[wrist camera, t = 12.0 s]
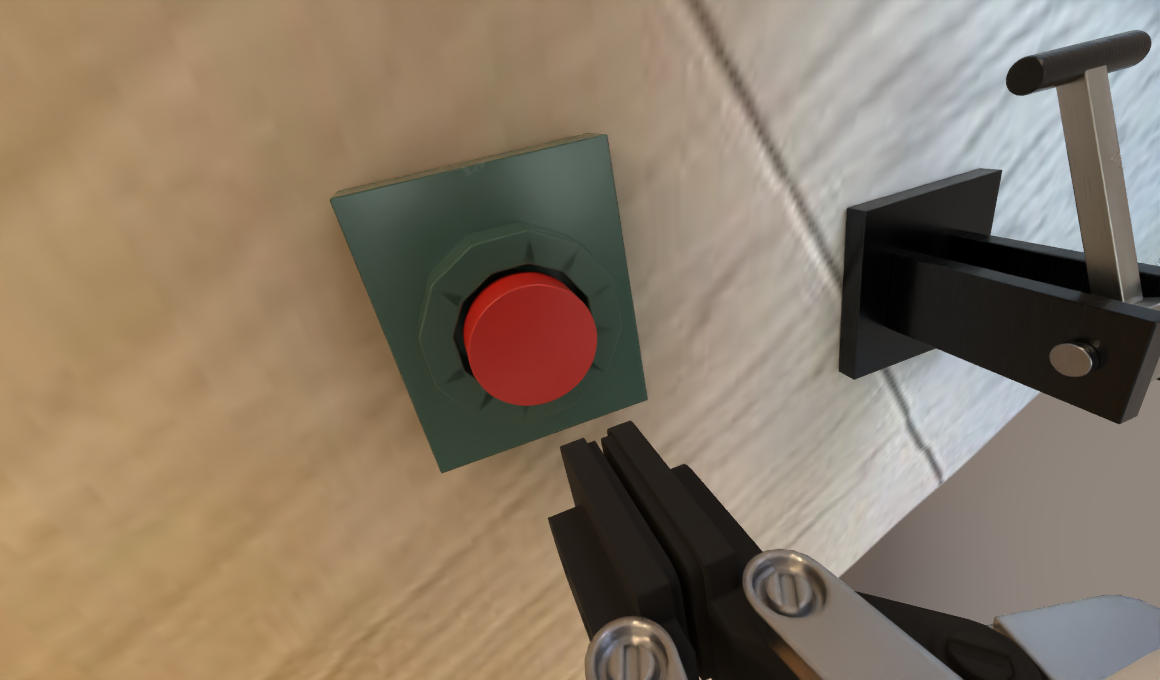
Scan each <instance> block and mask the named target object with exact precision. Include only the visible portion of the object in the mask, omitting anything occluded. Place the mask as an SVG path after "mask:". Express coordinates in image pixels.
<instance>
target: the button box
mask: <svg viewBox="0 0 1160 680" xmlns="http://www.w3.org/2000/svg"><path fill="white" fill-rule="evenodd" d="M330 202H331V205H332V207H333V210H334V212H335V215H336V217H337V220H338V222H339V224H340V227H341V229H342V232H343V234H344V237H345V239H346V242H347V244H348V246H349V249H350V251H351V254H352V256H353V259H354V261H355V264H356V266H357V268H358V271H359V273H360V276H361V278H362V281H363V283H364V286H365V288H366V290H367V293H368V295H369V298H370V300H371V303H372V305H373V308H374V310H375V312H376V315H377V317H378V320H379V322H380V325H381V327H382V330H383V332H384V334H385V337H386V339H387V342H388V344H389V347H390V349H391V352H392V354H393V356H394V359H395V361H396V364H397V366H398V369H399V371H400V374H401V376H402V378H403V381H404V383H405V386H406V388H407V391H408V393H409V396H410V398H411V401H412V403H413V405H414V408H415V410H416V413H417V415H418V418H419V420H420V423H421V425H422V427H423V430H424V432H425V435H426V437H427V440H428V442H429V445H430V447H431V449H432V452H433V454H434V457H435V459H436V462H437V464H438V467H439V469H440V471H441V473H444V472H447V471H450V470H453V469H455V468H458V467H461V466H464V465H467V464H469V463H472V462H475V461H478V460H481V459H483V458H486V457H489V456H492V455H495V454H497V453H500V452H503V451H506V450H509V449H511V448H514V447H517V446H520V445H523V444H525V443H528V442H531V441H534V440H537V439H539V438H542V437H545V436H548V435H550V434H553V433H556V432H559V431H562V430H564V429H567V428H570V427H573V426H576V425H578V424H581V423H584V422H587V421H590V420H592V419H595V418H598V417H601V416H604V415H606V414H609V413H612V412H615V411H618V410H620V409H623V408H626V407H629V406H632V405H634V404H637V403H640V402H643V401H646V400H647V399H648V398H647V392H646V385H645V379H644V372H643V366H642V359H641V353H640V346H639V339H638V333H637V326H636V320H635V313H634V307H633V300H632V294H631V287H630V281H629V274H628V268H627V261H626V255H625V248H624V242H623V235H622V229H621V222H620V216H619V209H618V203H617V196H616V190H615V183H614V177H613V170H612V164H611V157H610V151H609V144H608V138H607V134H591V133H587V134H583V135H578V136H574V137H570V138H565V139H561V140H557V141H552V142H548V143H544V144H540V145H535V146H531V147H527V148H522V149H518V150H514V151H509V152H505V153H501V154H497V155H492V156H488V157H484V158H479V159H475V160H471V161H466V162H462V163H458V164H453V165H449V166H445V167H441V168H436V169H432V170H428V171H423V172H419V173H415V174H410V175H406V176H402V177H398V178H393V179H389V180H385V181H380V182H376V183H372V184H367V185H363V186H359V187H355V188H350V189H346V190H342V191H338V192H337V193H336V194H335V195H334V196H333V197H332V198H331V199H330ZM525 271H528V272H539V273H543V274H547V275H550V276H552V277H554V278H556V279H558V280H559V281H561V282H562V283H564V284H565V285H566V286H567V287H568V288H569V289H570V290H571V291H572V292H573V293H574V294H575V295H576V296H577V297H578V298H579V299H580V300H581V301H582V302H583V303H584V304H585V305H586V307H587V308H588V309H589V311H590V313H591V315H592V317H593V319H594V322H595V326H596V331H597V347H596V353H595V356H594V359H593V362H592V364H591V366H590V368H589V370H588V372H587V373H586V375H585V376H584V377H583V379H582V380H581V381H580V382H579V383H578V384H577V385H576V386H575V387H574V388H573V389H572V390H571V391H569V392H568V393H566V394H565V395H563V396H561V397H559V398H558V399H555V400H553V401H550V402H547V403H544V404H539V405H531V406H522V405H514V404H510V403H507V402H504V401H501V400H499V399H497V398H495V397H494V396H492V395H491V394H489V393H488V392H487V391H486V390H485V389H484V388H483V387H482V386H481V385H480V384H479V383H478V381H477V380H476V378H475V376H474V374H473V372H472V369H471V366H470V363H469V359H468V356H467V352H466V348H465V344H464V338H463V327H464V321H465V317H466V314H467V311H468V309H469V307H470V305H471V303H472V302H473V300H474V299H475V297H476V296H477V295H478V294H479V293H480V292H481V291H482V290H483V289H484V288H485V287H486V286H487V285H489V284H490V283H492V282H493V281H495V280H497V279H499V278H501V277H503V276H506V275H508V274H512V273H517V272H525Z"/></svg>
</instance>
